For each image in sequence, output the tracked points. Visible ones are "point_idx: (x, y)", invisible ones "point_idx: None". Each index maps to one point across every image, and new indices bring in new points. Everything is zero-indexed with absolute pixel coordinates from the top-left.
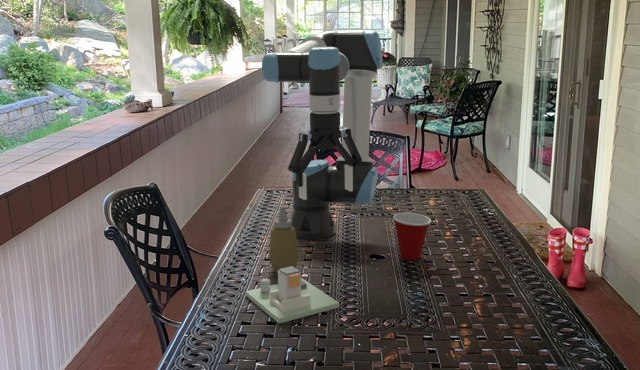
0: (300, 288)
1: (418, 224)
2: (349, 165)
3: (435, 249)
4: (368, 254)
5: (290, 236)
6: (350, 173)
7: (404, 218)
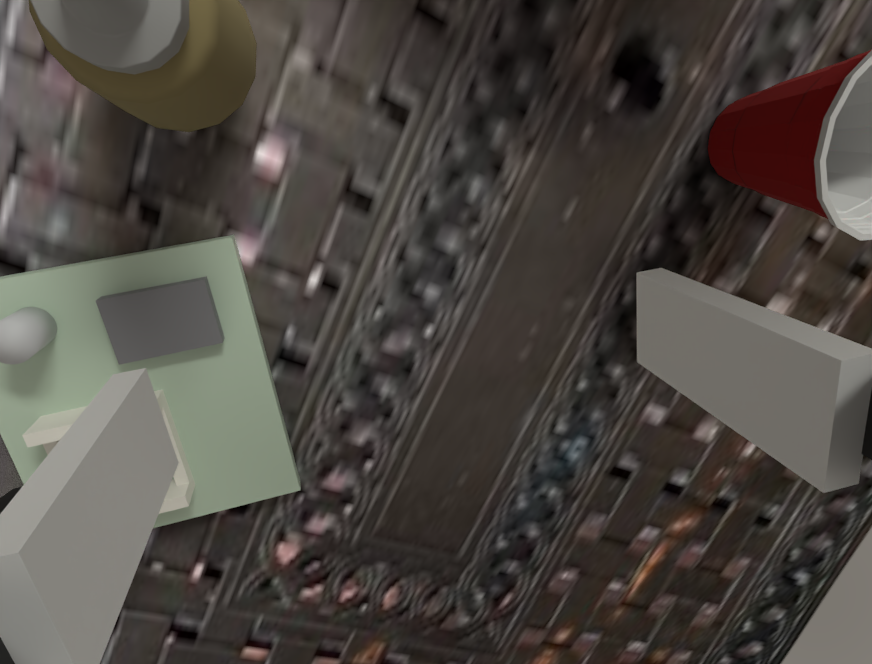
0: None
1: (860, 239)
2: (865, 416)
3: None
4: (623, 31)
5: (172, 104)
6: (759, 442)
7: None
